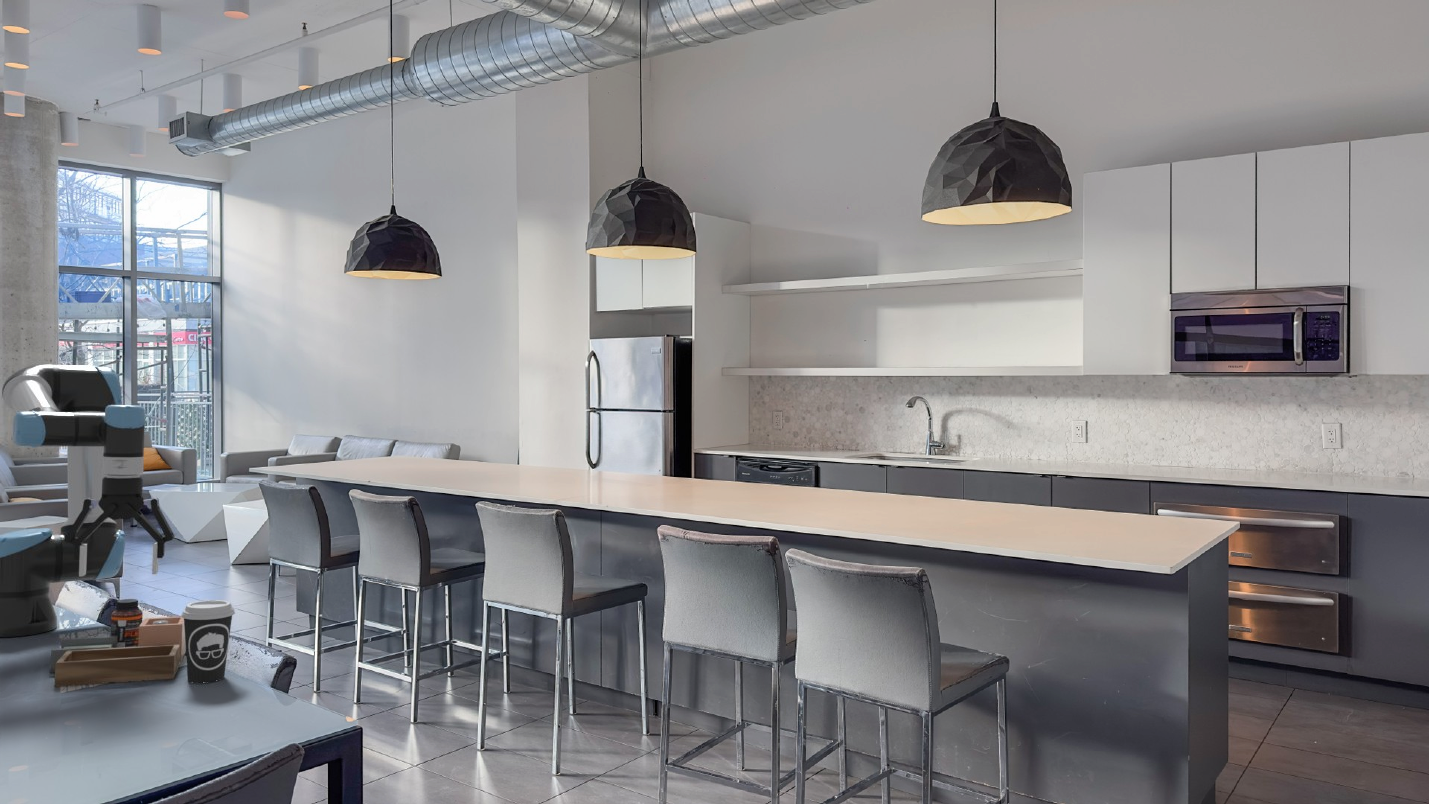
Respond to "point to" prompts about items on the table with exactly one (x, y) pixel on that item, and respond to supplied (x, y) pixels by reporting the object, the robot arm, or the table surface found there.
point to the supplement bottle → (126, 623)
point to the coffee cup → (207, 639)
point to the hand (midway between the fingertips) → (119, 574)
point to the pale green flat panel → (89, 646)
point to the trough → (117, 665)
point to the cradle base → (58, 653)
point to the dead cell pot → (163, 632)
